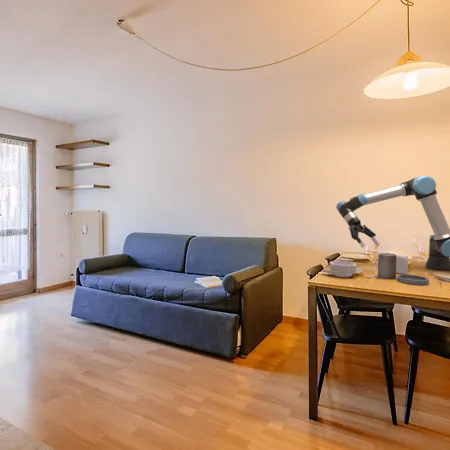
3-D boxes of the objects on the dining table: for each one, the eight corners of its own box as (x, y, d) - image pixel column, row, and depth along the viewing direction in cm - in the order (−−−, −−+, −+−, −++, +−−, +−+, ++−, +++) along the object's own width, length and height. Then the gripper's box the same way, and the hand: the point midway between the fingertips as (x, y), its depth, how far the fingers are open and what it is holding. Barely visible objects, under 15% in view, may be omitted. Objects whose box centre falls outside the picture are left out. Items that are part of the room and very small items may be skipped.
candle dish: (416, 278, 181) (416, 274, 181) (435, 285, 167) (435, 280, 166) (391, 278, 181) (391, 274, 181) (407, 285, 166) (408, 280, 166)
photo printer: (388, 272, 199) (389, 253, 199) (391, 271, 202) (392, 252, 201) (405, 274, 192) (406, 255, 191) (408, 274, 194) (409, 254, 193)
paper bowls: (338, 279, 179) (338, 265, 179) (324, 273, 194) (324, 261, 194) (361, 278, 182) (362, 264, 182) (346, 272, 197) (346, 260, 197)
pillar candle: (393, 275, 189) (393, 251, 188) (398, 279, 179) (398, 253, 179) (375, 275, 191) (376, 250, 190) (379, 278, 182) (380, 253, 181)
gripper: (361, 224, 214) (380, 248, 202) (335, 224, 203) (353, 250, 191) (368, 216, 209) (388, 241, 197) (342, 216, 198) (361, 243, 186)
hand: (371, 245), depth 194 cm, fingers open, 13 cm apart
